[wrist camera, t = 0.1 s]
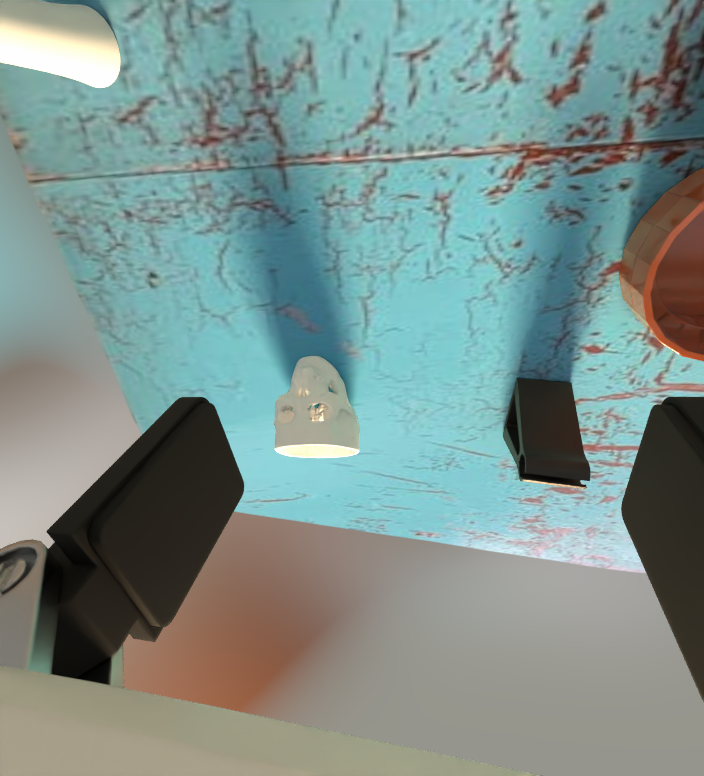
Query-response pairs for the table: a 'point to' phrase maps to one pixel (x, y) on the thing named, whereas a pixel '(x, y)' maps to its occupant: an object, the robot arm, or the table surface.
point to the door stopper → (546, 434)
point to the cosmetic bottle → (59, 40)
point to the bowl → (669, 268)
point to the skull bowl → (316, 414)
